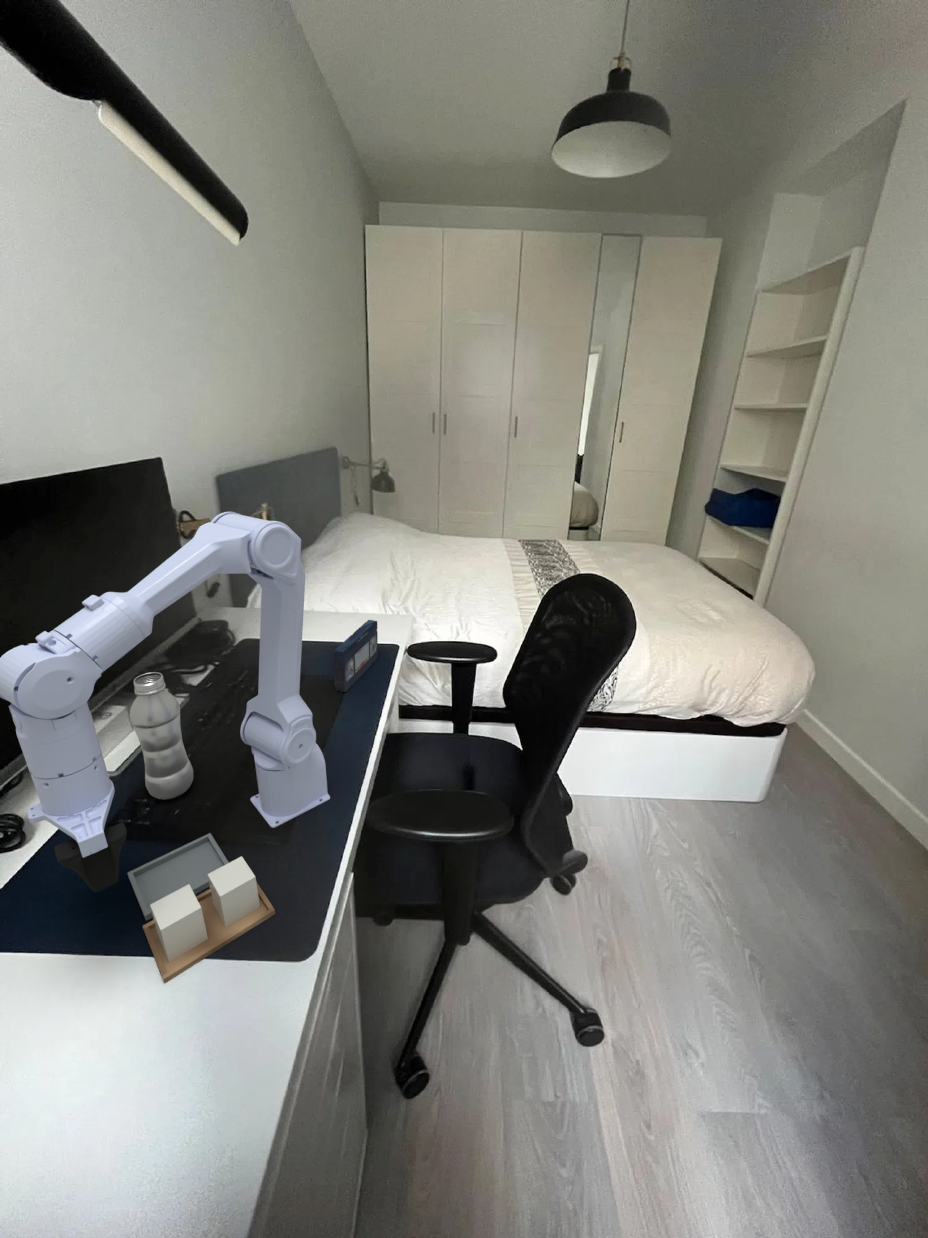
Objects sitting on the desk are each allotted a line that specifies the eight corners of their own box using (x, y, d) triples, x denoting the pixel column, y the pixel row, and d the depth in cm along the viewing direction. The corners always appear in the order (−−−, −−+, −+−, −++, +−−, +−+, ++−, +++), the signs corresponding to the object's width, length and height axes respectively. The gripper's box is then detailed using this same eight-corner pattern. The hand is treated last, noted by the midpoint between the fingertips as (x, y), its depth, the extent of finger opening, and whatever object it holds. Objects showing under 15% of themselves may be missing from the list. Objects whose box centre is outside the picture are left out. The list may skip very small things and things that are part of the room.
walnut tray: (248, 874, 66) (247, 868, 66) (275, 916, 61) (274, 910, 61) (144, 932, 58) (142, 926, 58) (165, 986, 53) (163, 979, 53)
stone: (246, 886, 64) (241, 856, 62) (260, 907, 62) (255, 876, 60) (213, 905, 62) (207, 874, 60) (226, 928, 59) (220, 896, 57)
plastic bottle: (203, 776, 83) (182, 667, 76) (183, 806, 77) (159, 690, 69) (162, 776, 83) (138, 666, 75) (139, 806, 77) (110, 689, 69)
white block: (195, 915, 60) (189, 884, 58) (207, 939, 58) (201, 907, 56) (158, 936, 58) (149, 904, 56) (169, 962, 55) (160, 930, 53)
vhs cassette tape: (345, 694, 109) (343, 652, 105) (332, 691, 110) (330, 650, 106) (380, 658, 126) (379, 620, 122) (369, 656, 126) (367, 619, 123)
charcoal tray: (211, 839, 71) (210, 832, 71) (233, 875, 66) (232, 868, 66) (129, 879, 65) (127, 872, 64) (146, 923, 59) (144, 916, 59)
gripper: (8, 741, 53) (43, 841, 58) (21, 821, 43) (63, 932, 48) (90, 717, 57) (116, 812, 62) (119, 784, 48) (147, 890, 53)
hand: (98, 862), depth 56 cm, fingers open, 7 cm apart
